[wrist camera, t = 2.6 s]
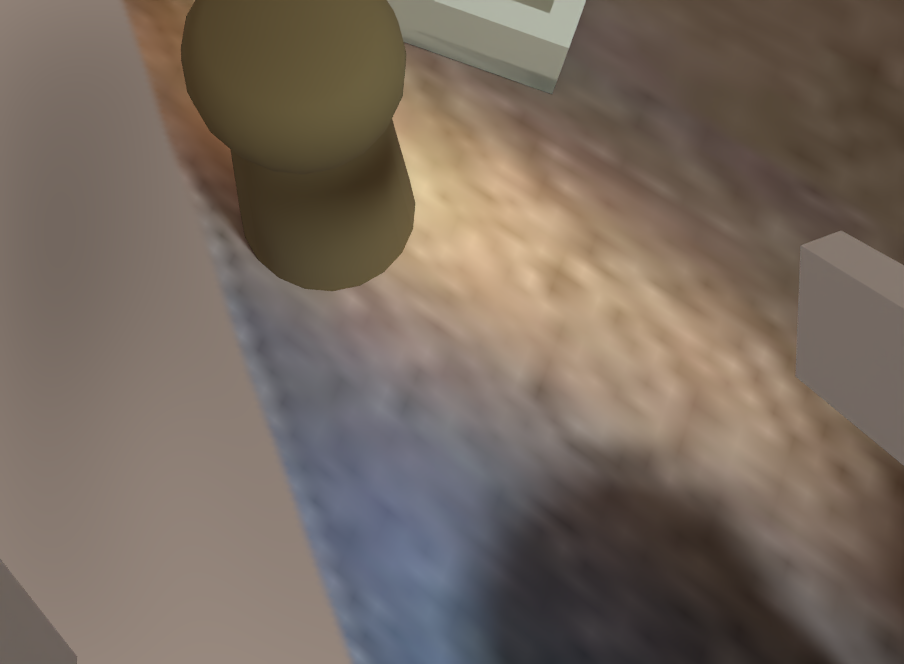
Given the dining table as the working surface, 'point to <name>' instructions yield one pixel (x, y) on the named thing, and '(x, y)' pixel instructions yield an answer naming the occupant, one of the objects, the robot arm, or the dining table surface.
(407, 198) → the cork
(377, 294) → the dining table surface
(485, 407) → the dining table surface
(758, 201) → the dining table surface
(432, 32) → the tray
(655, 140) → the dining table surface
